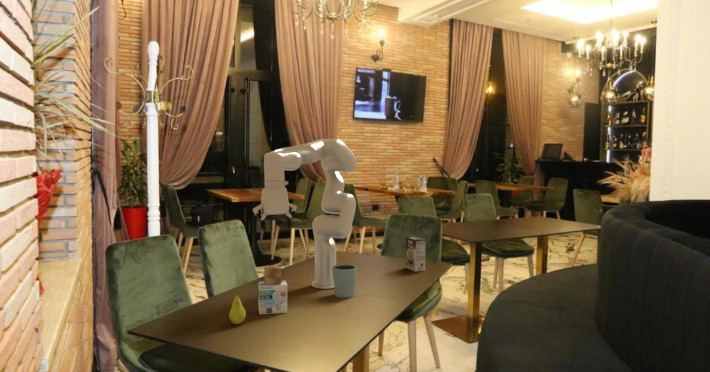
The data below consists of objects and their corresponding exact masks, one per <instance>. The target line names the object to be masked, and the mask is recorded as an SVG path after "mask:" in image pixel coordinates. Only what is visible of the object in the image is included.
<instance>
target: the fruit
mask: <svg viewBox="0 0 710 372" xmlns="http://www.w3.org/2000/svg"><path fill="white" fill-rule="evenodd" d="M238 294H239V291H237V292H236V295H235V296H234V298H233V299H232V300H233V301H232V304H231V308H230V310H229V315H228V316H229V320H230V321H231V323H232V324H234V325H241V324H242V323H243V322H244V320H245V319H246V315H247V313H246V309H245V308H244V306H243V304H242V302H241V299H240V297H239V295H238Z"/></svg>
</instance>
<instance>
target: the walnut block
mask: <svg viewBox="0 0 710 372" xmlns="http://www.w3.org/2000/svg"><path fill="white" fill-rule="evenodd" d="M263 269H264V282H265V283H266V284H267V285H277V284H281V281H282V268H281V267H280V266H279V265H275V264H274V265H265V266H264V268H263Z"/></svg>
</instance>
